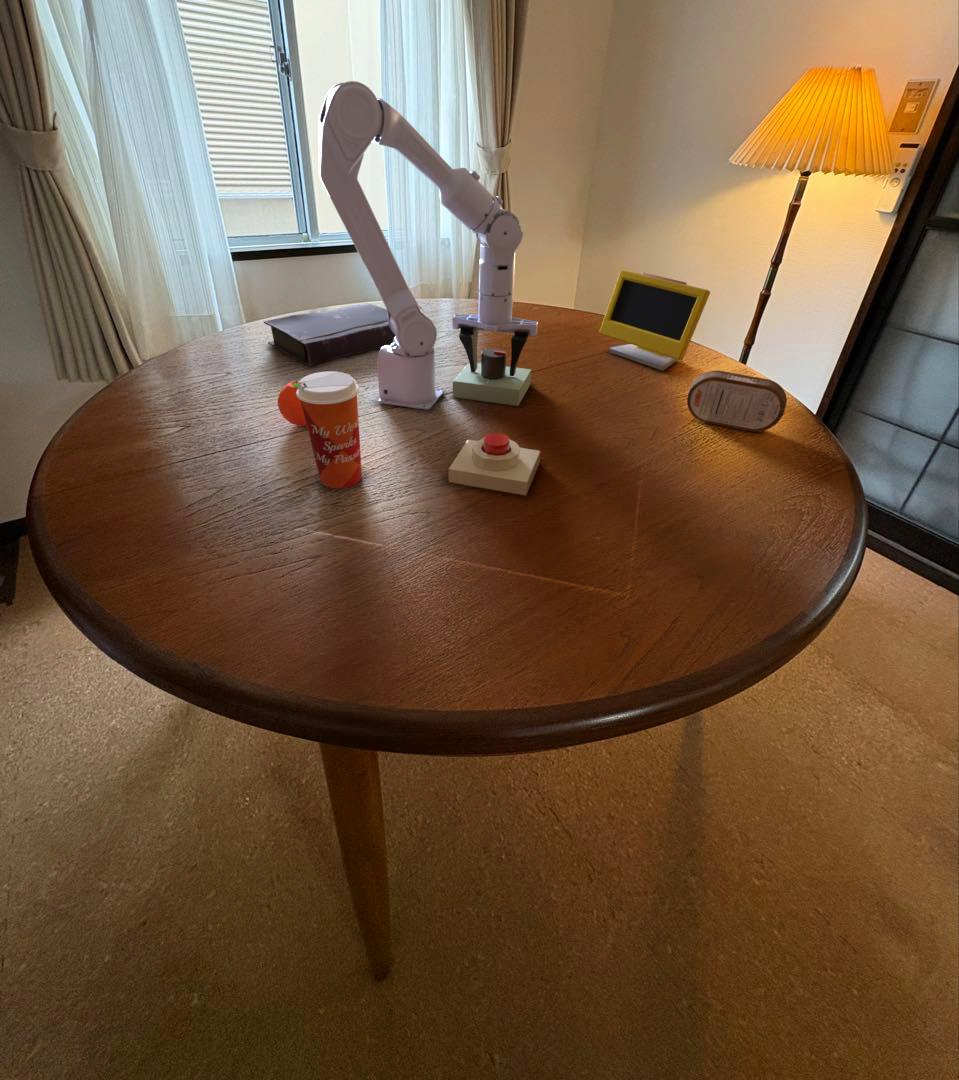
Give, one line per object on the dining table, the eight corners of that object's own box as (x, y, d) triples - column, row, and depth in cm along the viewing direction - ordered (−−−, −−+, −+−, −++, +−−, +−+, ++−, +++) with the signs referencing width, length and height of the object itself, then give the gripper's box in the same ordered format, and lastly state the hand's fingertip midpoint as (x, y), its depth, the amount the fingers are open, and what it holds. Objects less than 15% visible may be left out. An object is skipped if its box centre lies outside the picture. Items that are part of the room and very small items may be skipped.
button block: (448, 482, 78) (448, 457, 75) (467, 452, 84) (467, 428, 82) (525, 495, 75) (528, 470, 73) (539, 463, 82) (541, 439, 80)
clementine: (338, 425, 91) (332, 383, 86) (301, 440, 86) (293, 396, 82) (310, 410, 95) (303, 369, 90) (273, 423, 91) (264, 381, 86)
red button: (480, 454, 77) (480, 443, 76) (487, 442, 79) (487, 431, 78) (505, 458, 76) (506, 447, 75) (511, 446, 79) (512, 435, 78)
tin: (776, 430, 92) (794, 381, 87) (775, 438, 90) (794, 388, 85) (682, 412, 97) (695, 364, 92) (679, 419, 95) (692, 371, 90)
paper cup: (321, 498, 74) (302, 398, 65) (306, 471, 79) (288, 375, 71) (377, 484, 77) (367, 386, 68) (360, 459, 82) (348, 365, 74)
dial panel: (452, 397, 100) (452, 380, 98) (469, 376, 108) (469, 360, 106) (518, 406, 98) (519, 388, 96) (530, 384, 105) (531, 368, 104)
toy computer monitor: (596, 349, 122) (607, 270, 112) (618, 341, 126) (632, 265, 116) (674, 376, 110) (695, 291, 100) (697, 367, 114) (718, 285, 105)
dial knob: (477, 377, 100) (478, 353, 97) (484, 368, 103) (485, 345, 101) (501, 380, 99) (502, 356, 96) (507, 371, 102) (509, 348, 100)
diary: (412, 342, 123) (411, 318, 120) (310, 369, 109) (306, 343, 106) (364, 322, 134) (362, 299, 131) (266, 344, 120) (261, 320, 117)
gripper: (447, 294, 90) (448, 376, 99) (536, 302, 88) (529, 384, 96) (458, 284, 96) (458, 362, 104) (542, 290, 94) (535, 370, 102)
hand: (493, 372), depth 101 cm, fingers open, 6 cm apart
